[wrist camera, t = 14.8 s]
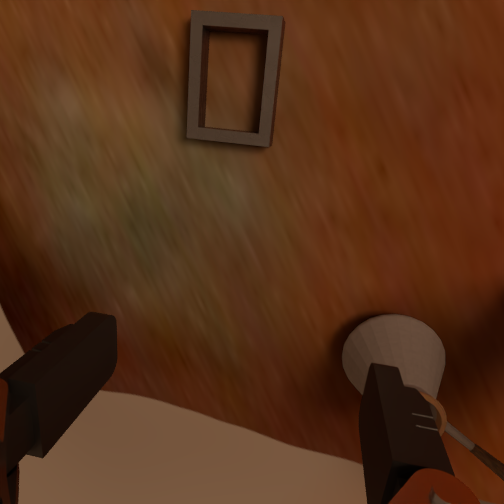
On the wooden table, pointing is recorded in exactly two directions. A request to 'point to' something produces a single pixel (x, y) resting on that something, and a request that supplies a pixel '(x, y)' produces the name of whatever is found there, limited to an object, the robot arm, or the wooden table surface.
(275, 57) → the grey flat rectangular frame
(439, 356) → the coffee pot
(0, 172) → the wooden table surface
